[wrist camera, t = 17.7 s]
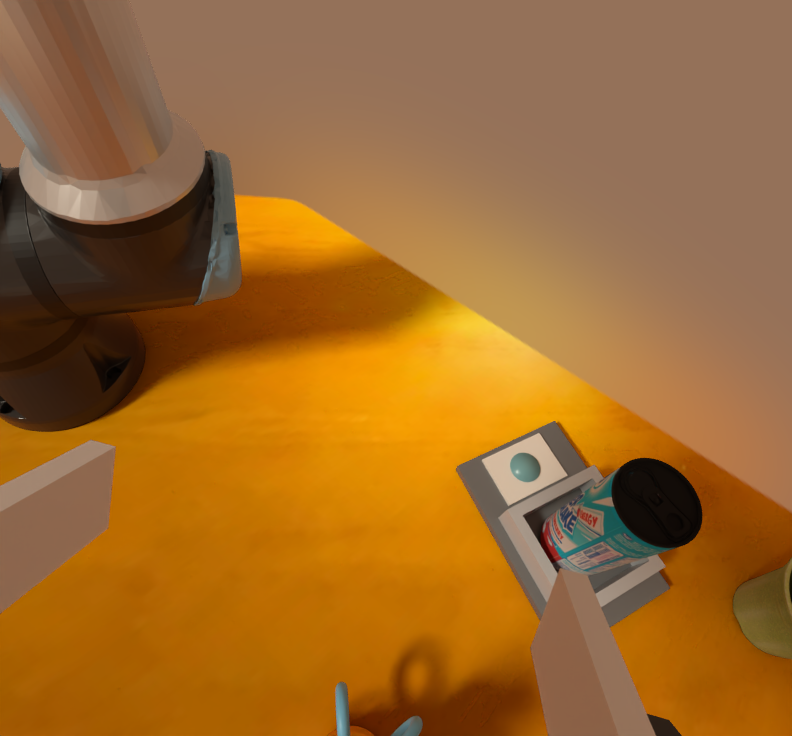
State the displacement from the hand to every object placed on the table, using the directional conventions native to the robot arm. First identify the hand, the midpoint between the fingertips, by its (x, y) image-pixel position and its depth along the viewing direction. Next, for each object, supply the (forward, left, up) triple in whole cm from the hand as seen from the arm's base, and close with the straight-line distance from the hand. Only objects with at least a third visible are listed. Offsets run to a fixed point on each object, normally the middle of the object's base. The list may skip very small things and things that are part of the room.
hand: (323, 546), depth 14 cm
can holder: (+2, +22, -32) cm, 38 cm away
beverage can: (+4, +21, -31) cm, 38 cm away
